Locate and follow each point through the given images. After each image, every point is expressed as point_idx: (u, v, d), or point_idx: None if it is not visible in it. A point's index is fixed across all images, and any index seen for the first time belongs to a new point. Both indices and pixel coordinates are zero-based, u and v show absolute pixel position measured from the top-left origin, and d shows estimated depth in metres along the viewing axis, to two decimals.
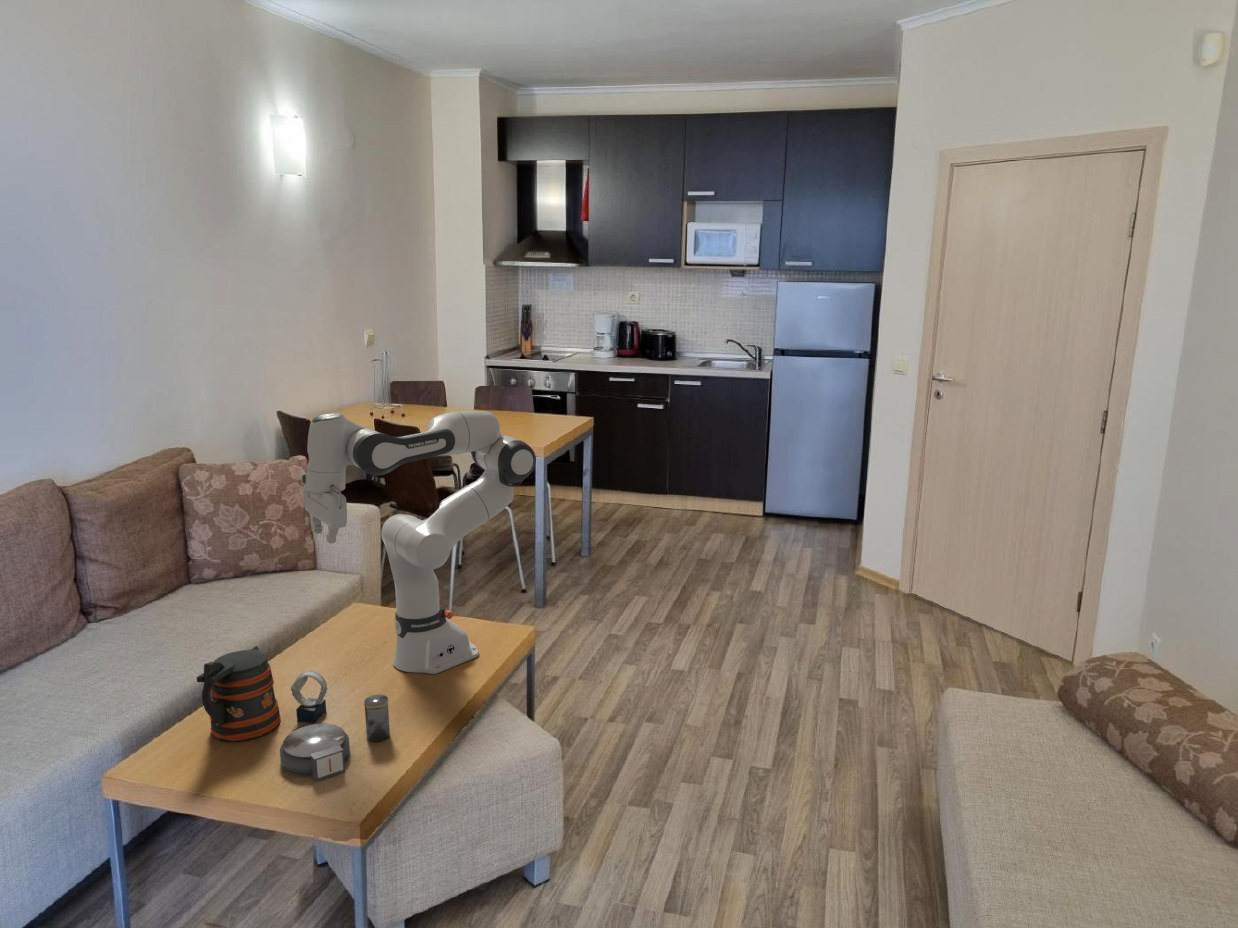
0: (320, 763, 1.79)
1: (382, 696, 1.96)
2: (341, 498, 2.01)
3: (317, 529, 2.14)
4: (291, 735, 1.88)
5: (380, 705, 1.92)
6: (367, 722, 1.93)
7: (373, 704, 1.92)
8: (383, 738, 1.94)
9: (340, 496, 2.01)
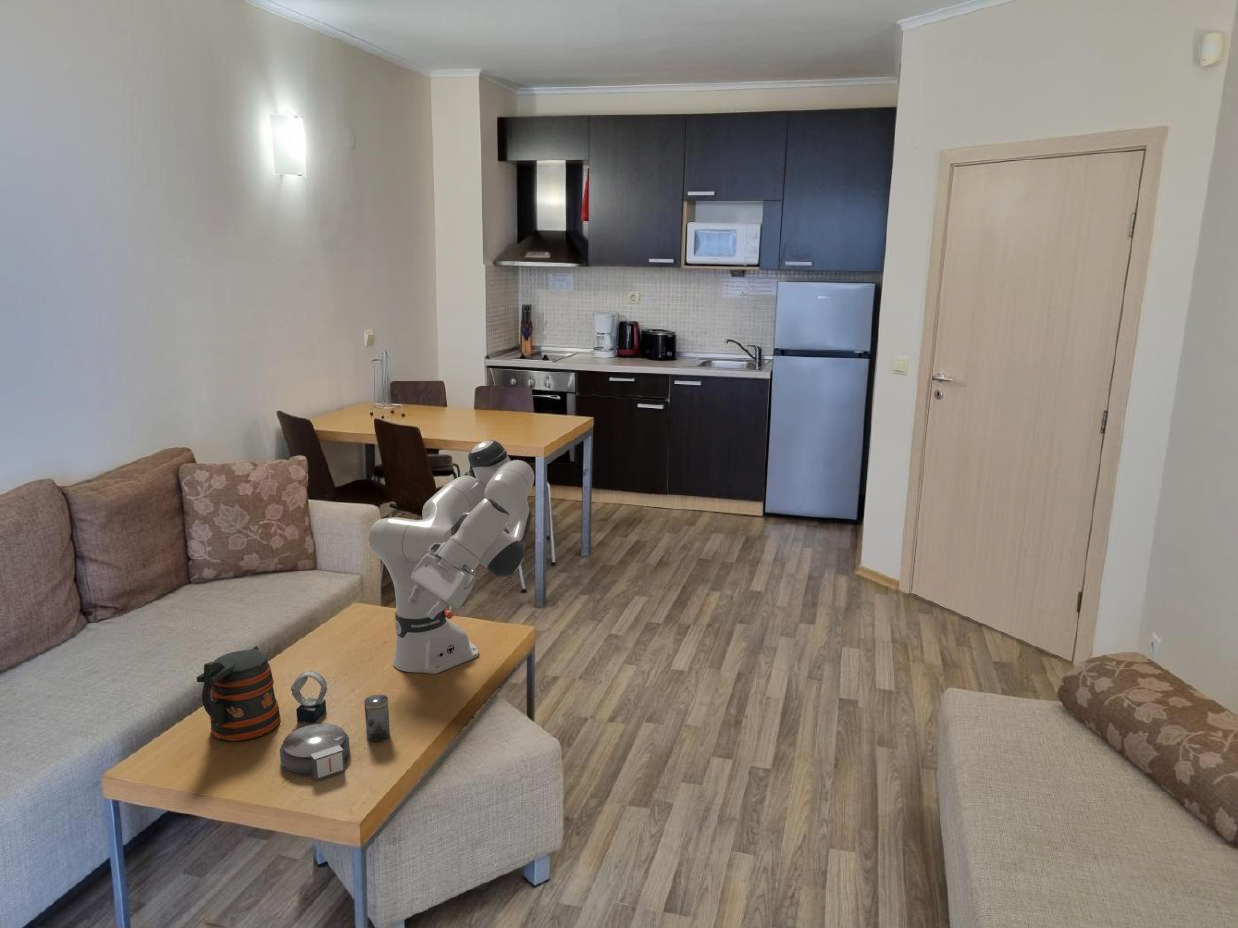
0: (320, 763, 1.79)
1: (382, 696, 1.96)
2: (473, 580, 1.92)
3: (413, 600, 2.00)
4: (291, 735, 1.88)
5: (380, 705, 1.92)
6: (367, 722, 1.93)
7: (373, 704, 1.92)
8: (383, 738, 1.94)
9: (473, 578, 1.92)
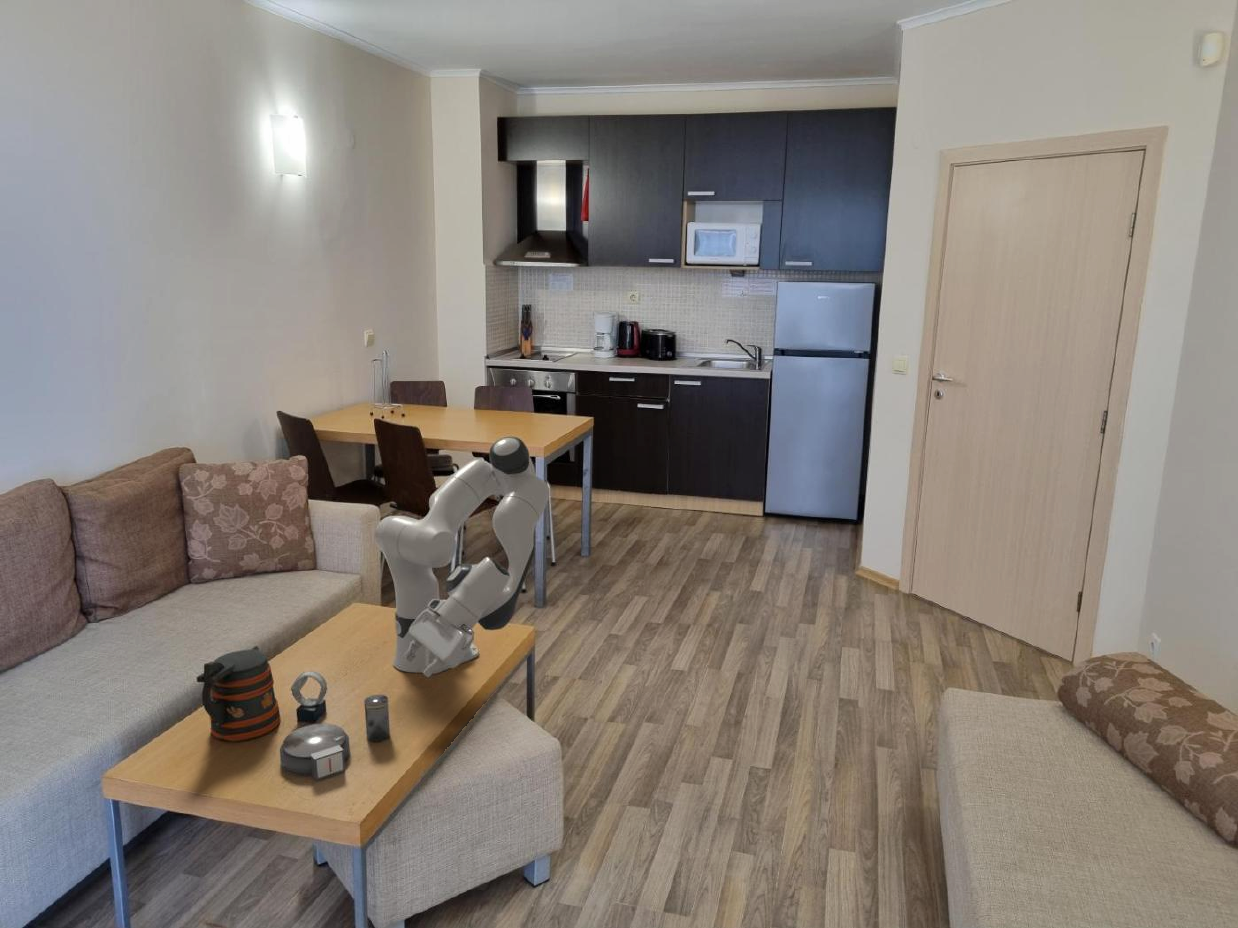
0: (320, 763, 1.79)
1: (382, 696, 1.96)
2: (471, 640, 1.93)
3: (410, 655, 2.01)
4: (291, 735, 1.88)
5: (380, 705, 1.92)
6: (367, 722, 1.93)
7: (373, 704, 1.92)
8: (383, 738, 1.94)
9: (472, 638, 1.93)
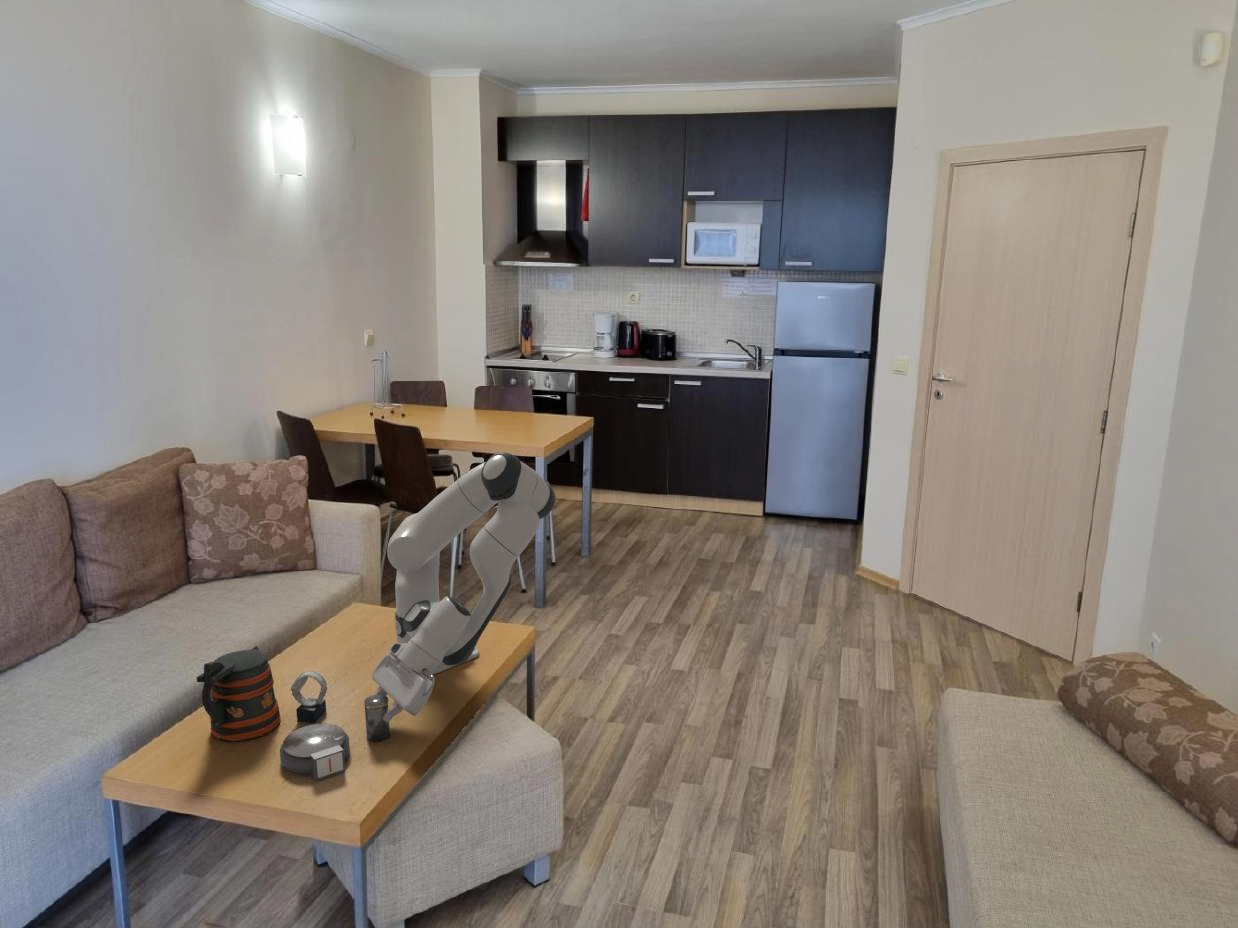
0: (320, 763, 1.79)
1: (382, 696, 1.96)
2: (432, 686, 1.90)
3: None
4: (291, 735, 1.88)
5: (380, 705, 1.92)
6: (367, 722, 1.93)
7: (373, 704, 1.92)
8: (383, 738, 1.94)
9: (432, 684, 1.90)
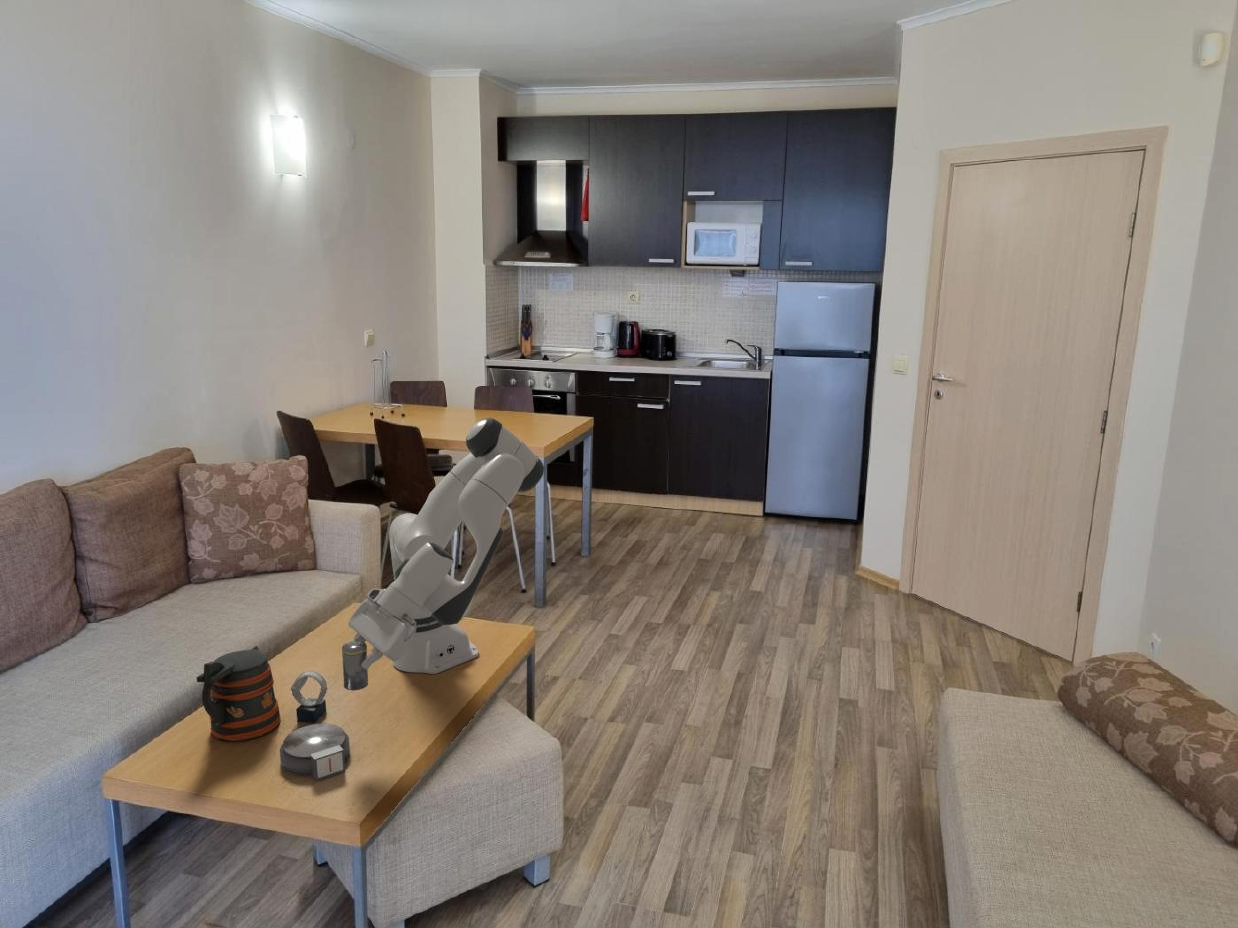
0: (320, 763, 1.79)
1: (360, 643, 1.88)
2: (413, 631, 1.83)
3: None
4: (291, 735, 1.88)
5: (359, 651, 1.85)
6: (345, 669, 1.86)
7: (351, 650, 1.84)
8: (361, 686, 1.87)
9: (414, 629, 1.83)
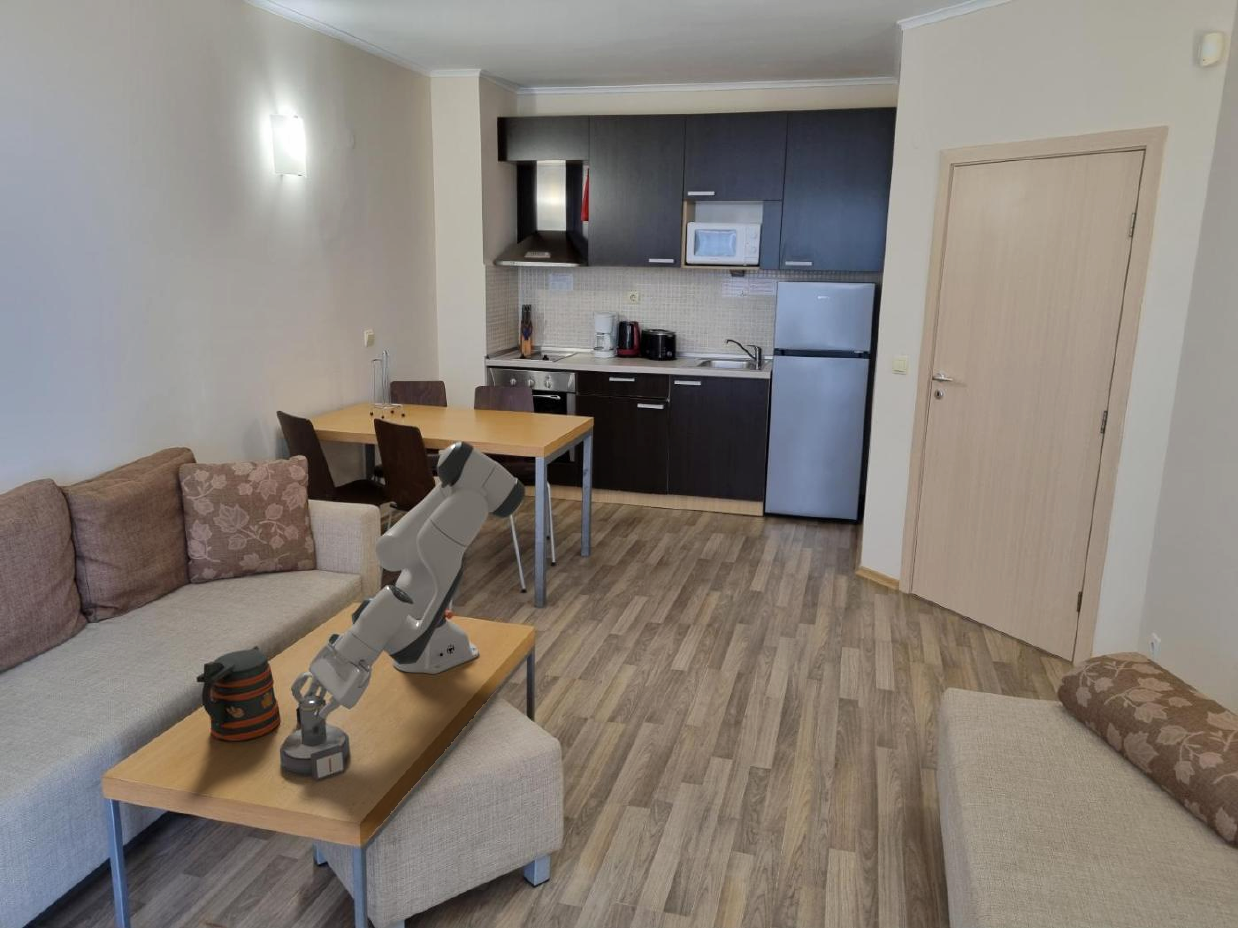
0: (320, 763, 1.79)
1: (318, 697, 1.86)
2: (368, 678, 1.81)
3: None
4: (291, 737, 1.88)
5: (315, 707, 1.83)
6: (302, 725, 1.84)
7: (307, 706, 1.83)
8: (319, 741, 1.85)
9: (368, 675, 1.81)
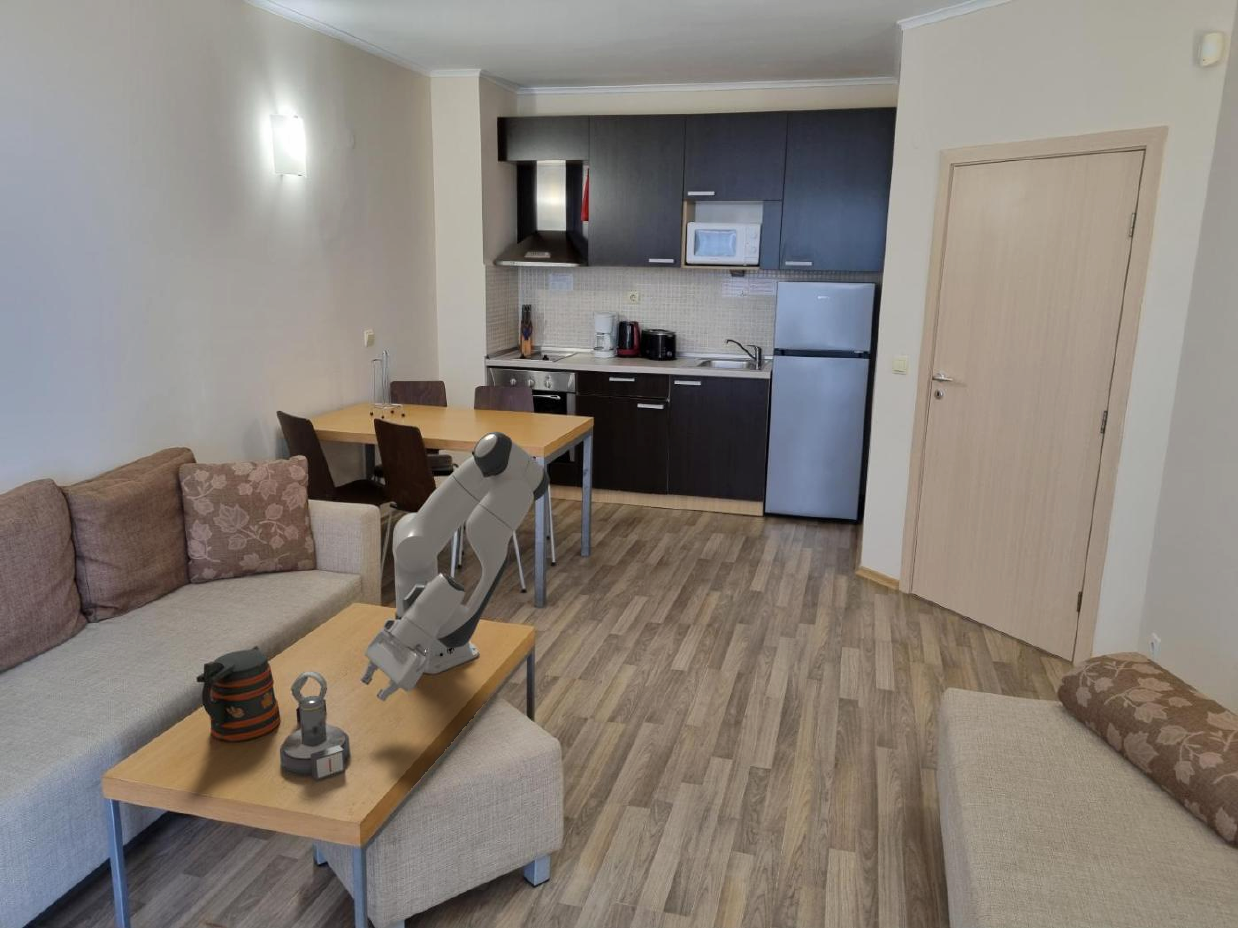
0: (320, 763, 1.79)
1: (318, 697, 1.86)
2: (425, 662, 1.88)
3: (366, 679, 1.96)
4: (291, 737, 1.88)
5: (315, 707, 1.83)
6: (302, 725, 1.84)
7: (307, 706, 1.83)
8: (319, 741, 1.85)
9: (426, 659, 1.88)
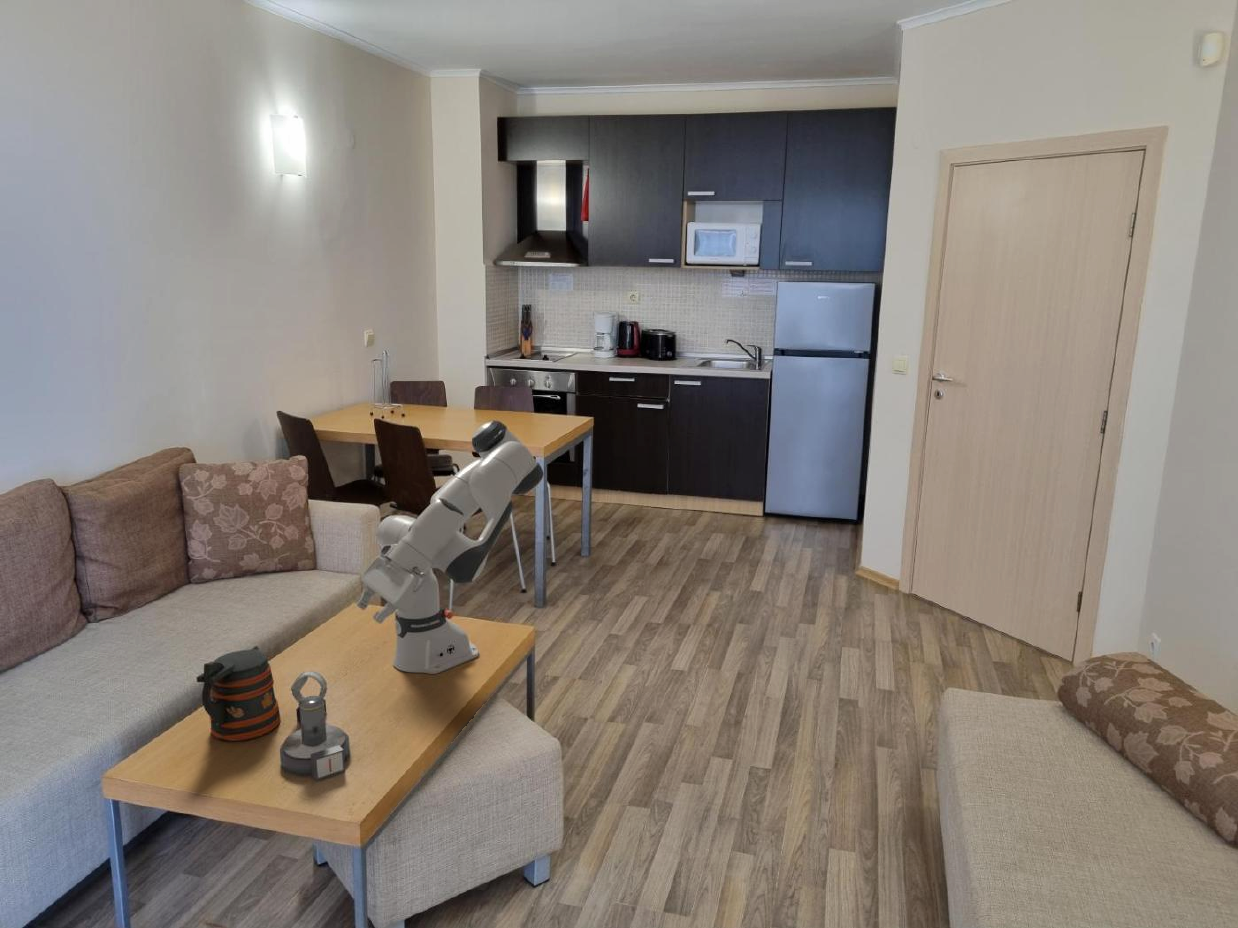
0: (320, 763, 1.79)
1: (318, 697, 1.86)
2: (422, 583, 1.84)
3: (362, 603, 1.92)
4: (291, 737, 1.88)
5: (315, 707, 1.83)
6: (302, 725, 1.84)
7: (307, 706, 1.83)
8: (319, 741, 1.85)
9: (423, 580, 1.84)
